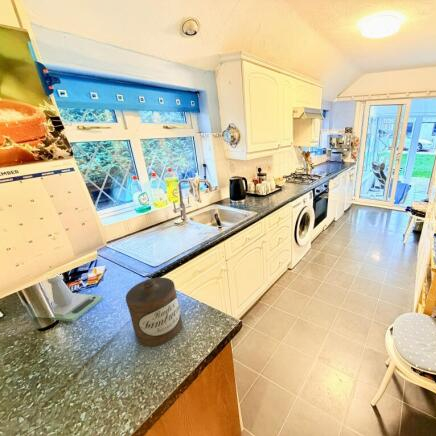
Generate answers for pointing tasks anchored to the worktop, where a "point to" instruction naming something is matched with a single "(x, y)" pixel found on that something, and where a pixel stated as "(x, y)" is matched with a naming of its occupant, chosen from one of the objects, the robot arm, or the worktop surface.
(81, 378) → the worktop surface
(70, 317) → the kitchen scale
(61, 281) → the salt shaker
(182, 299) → the worktop surface
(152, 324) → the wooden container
